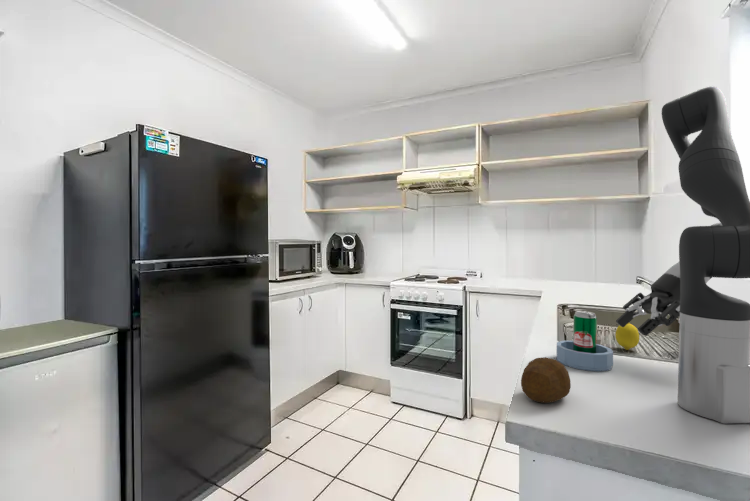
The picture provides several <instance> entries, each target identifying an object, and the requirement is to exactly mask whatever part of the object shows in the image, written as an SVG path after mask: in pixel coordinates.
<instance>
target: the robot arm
mask: <svg viewBox="0 0 750 501" xmlns="http://www.w3.org/2000/svg"><path fill="white" fill-rule="evenodd" d="M661 119H662V122H663V126H664V128H665V129H664V130H665V131H666V133H667V135H668V138H669V140H670V141H671V144H672V146H673V148H674V150H675V151H676V154H677V156H678V158H679V162H678V173H679V182H680V187H681V190H682V191H683V192H684V194H685V195H686V196H687V197H688V198H689V199H691V200H692V201H693V202H694V203H696V204H697V205H699V206H700V208H701V211H702V213H703V214H704V215H706V216H708V217H711V218H714V219H716V220H718V222H716V223H714V224H710V225H697V226H696V225H695V226H687V227H686V228H684V229H683V230H682V232H681V233H680V237H679V242H678V244H679V245H678V257H679V258H678V259H679V261H678V262H677V263H675V264H673V265H672V266H671V267H669V268H668V269H667V270H666V271H665V272H664V273H662V275H661V276H660V277H659V278H657V279H656V280H655V281H653V283H652V284H651V285H650V291H651V292H650V293H649V294H646V295H644V294H643V293H642V292H639V293H637V294H636V295H634V296H633V297H632V298H631V299H630V300H629V301H628V302H626V303H625V304H624V305H623V306H622V308H623V310H625V312H624V313H623V314H621V315H620V316H619V317H617V319H616V321H615V322H616V324H618V326H619V325H620V326H621V327H624V326H626V325H627V324H628V323H630V322H631V321H632V320H633V319H634V318H636V317H638V316H640V315H642V316H646V315H648V314H649V315H650V318H647V319H646V320H645V321H644V322H643V323H642V324H641V325H640V326H639V327H638V328H637V330H638V332H639V334H641V335H642V336H645V337H646V336H648V335H649V334H650V333H652V332H653V331H654V330H655V329H656V328H658V327H661V326H664V325H665V327H666V326H667V327H669V326H670V325H672V324H673V323H674V322H675V321H676V320H677V319H678V318H679V319H680V322H679V321H678V323H679V325H678V326H679V327H678V330H679V331H678V361H677V362H678V364H677V366H678V368H677V369H678V370H677V371H678V372H677V374H678V375H677V404H678V405H679V407H681V408H682V409H684V410H685V411H687V412H689V413H692V414H694V415H697V416H700V417H703V418H706V419H710V420H713V421H716V422H719V423H720V424H750V303H749V302H747V301H746V300H743V299H739V298H737V297H733V296H730V295H727V294H724V293H721V292H720V291H717V290H715V289H713V288H712V287H710V286H709V285H708V284H707V283H708V282H709V281H710V280H711V279H712V278H720V279H721V278H722V279H750V199H749V198H750V197H749V195H748V191H747V187H746V183H745V179H744V173H743V168H742V163H741V160H740V156H739V153H738V151H737V150H738V149H737V148H736V147H737V146H736V145H735V141H734V139H733V136H732V133H731V132H732V131H731V126H730V118H729V110H728V104H727V100H726V97H725V94H724V92H722V90H721V89H720V88H719V87H717V86H714V85H711V86H710V85H709V86H705V87H702V88H700V89H697V90H695V91H692V92H689V93H687V94H685V95H682V96H680V97H678V98H676V99H673V100H671V101H668V102H666V103H664V105H663V106H662V108H661ZM698 132H700V133H699V134H698V135H697V136H696V137H695V139H694V140H692V142H691V141H690V138H689V135H692V134H695V133H698ZM668 316H669V318H667V317H668Z"/></svg>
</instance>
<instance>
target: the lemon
mask: <svg viewBox="0 0 750 501" xmlns="http://www.w3.org/2000/svg"><path fill="white" fill-rule="evenodd" d="M614 334H615V340H616V343H617V344H618V345H619V346H620V347H622V348H623V349H624V350H626V351H629V350H630V349H634V348H636V347H637V346H638V344H639V342H640V332H639V331H638V328H637V327H636V326H635V325H633V324H631V323H630V322H629V323H628V324H627V325H626V326H624V327H621V326H620V325H619V324H618V326H617V328H616V330H615V333H614Z"/></svg>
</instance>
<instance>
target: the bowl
mask: <svg viewBox="0 0 750 501" xmlns="http://www.w3.org/2000/svg"><path fill="white" fill-rule="evenodd" d="M555 355H556V360H557V361H558V362H560V363H561V364H563V365H564V366H566V367H568V366H569V367H570V368H572V369H577V370H581V371H588V372H609V371H611V370H612V369H613V366H614V351H613V349H612V348H610V347H608V346H605V345H602V344H598V343H597V344H596V353H586V352H578V351H574V350H573V340H561V341H556V354H555Z"/></svg>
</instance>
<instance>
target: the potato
mask: <svg viewBox="0 0 750 501" xmlns="http://www.w3.org/2000/svg"><path fill="white" fill-rule="evenodd" d="M565 366H566V365H563V364H561V363H560V362H558V361H557V359H555V358H549V357H546V356H545V357H537V358H535V359H532V360H530V361H529V362H528V364H526V366H525V368H524V369H523V371H522V374H521V379H520V384H521V390H522V391H523V393H524V394H525V395H526V397H527V398H528V399H530V400H531V401H533V402H537V403H540V404H541V403H542V404H545V403H547V404H548V403H554V402H557V401H559V400H562V399H563V398H565V397H566V396H568V394H570V391H571V386H572V384H571V383H572V382H571V378H570V374H569V371H568V370H567V368H566V367H565Z"/></svg>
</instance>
